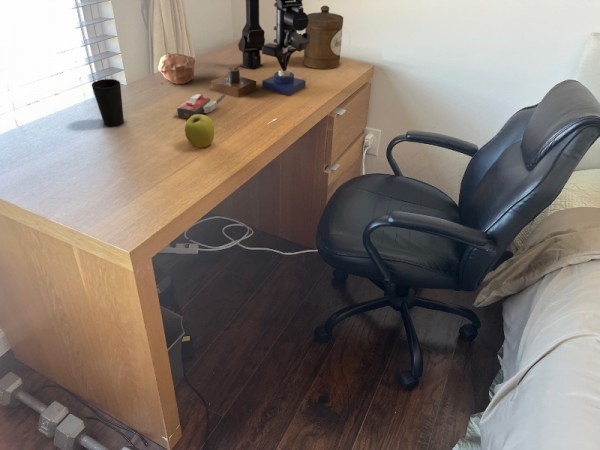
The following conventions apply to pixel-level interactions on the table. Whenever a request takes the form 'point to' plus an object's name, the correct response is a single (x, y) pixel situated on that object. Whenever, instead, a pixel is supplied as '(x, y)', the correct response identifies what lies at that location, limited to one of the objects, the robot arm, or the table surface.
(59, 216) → the table surface
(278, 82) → the button housing
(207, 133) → the apple
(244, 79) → the dial panel
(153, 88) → the table surface
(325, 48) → the wooden container
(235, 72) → the dial
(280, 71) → the cap
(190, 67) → the decorative rock
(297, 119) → the table surface
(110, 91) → the cup
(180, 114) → the walkie-talkie
